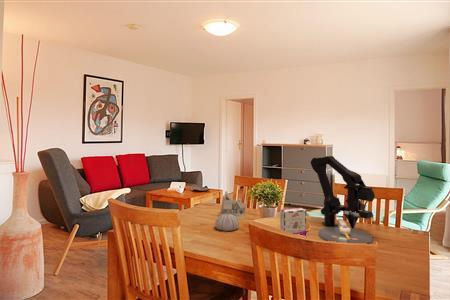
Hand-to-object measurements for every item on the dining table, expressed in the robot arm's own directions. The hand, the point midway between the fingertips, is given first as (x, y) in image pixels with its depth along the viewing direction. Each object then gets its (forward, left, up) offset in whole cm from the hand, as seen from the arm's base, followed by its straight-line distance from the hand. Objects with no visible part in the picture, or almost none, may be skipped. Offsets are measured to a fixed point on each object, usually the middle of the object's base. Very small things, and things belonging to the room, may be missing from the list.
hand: (352, 228), depth 161 cm
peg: (+5, -7, -1) cm, 9 cm away
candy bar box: (+14, -36, -3) cm, 39 cm away
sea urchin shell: (-13, -64, -3) cm, 66 cm away
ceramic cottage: (-39, -58, -3) cm, 70 cm away
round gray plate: (+6, -7, -2) cm, 10 cm away
